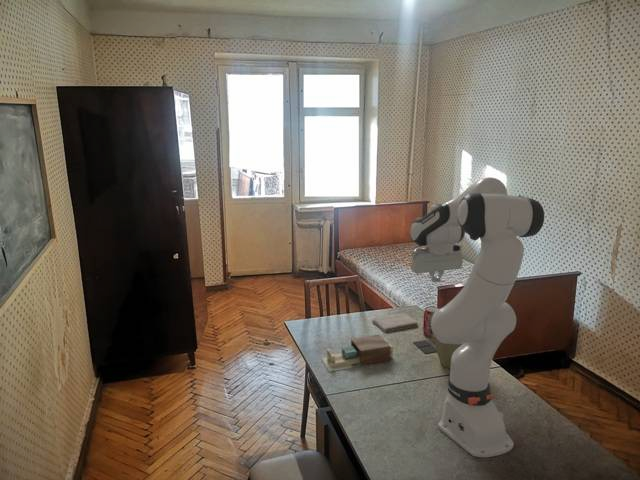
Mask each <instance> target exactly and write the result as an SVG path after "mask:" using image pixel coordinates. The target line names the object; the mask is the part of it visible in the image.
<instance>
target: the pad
mask: <svg viewBox="0 0 640 480" xmlns="http://www.w3.org/2000/svg"><path fill="white" fill-rule="evenodd" d="M321 361H322V362H323V364H324V365H325V367H326V368H327V370H328V371H329V372H330V373H332V372H337V371H342V370H347V369H349V370H350V369H352V368H353V366H352V364H349V365H343V366H338V367H331V365H330V363H329V362H328V360H327V356H326V357H322V358H321Z"/></svg>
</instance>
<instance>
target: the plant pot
mask: <svg viewBox="0 0 640 480" xmlns="http://www.w3.org/2000/svg"><path fill="white" fill-rule="evenodd" d="M432 338H433V341H434V347H435V348H436V350H437V352H436V354H437V357H438V359H439V362H440V365H442V367H444V368H446V369H447V368H448V369H451V357H452V354H453V353H454V351H455V350H456V349H457V348H458V347H460V346H461V345H462V344H445V343H441V342H440V341H438V340H437V339H436V337H435V336H434V334H433V337H432Z"/></svg>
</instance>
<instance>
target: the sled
mask: <svg viewBox="0 0 640 480" xmlns="http://www.w3.org/2000/svg"><path fill="white" fill-rule="evenodd" d="M384 340H385V341H386V342H387V343H388V344H389V345H390V358H393V353H394V351H393V349H394V346H393V345H392V344H391V343H390V342H389V341H388V340H387V339H384ZM326 357H327V360H328V362H329V363H330V365H331V367H338V366H343V365H349V364H350V365H353V364H360V351H356V350H355V349H354V347H353V346H351V345H350V346H344V347H341V353H338V354H334V352H333V351H332V350H331V348H327V349H326Z"/></svg>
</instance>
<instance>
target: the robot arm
mask: <svg viewBox="0 0 640 480" xmlns="http://www.w3.org/2000/svg"><path fill="white" fill-rule="evenodd" d="M544 222H545V210H544V207H543V205H542V204H541V203H540V202H539V201H538V200H536V199H533V198H532V197H531V198H530V197H527V196H522V195H520V194H519V195H510V194H508V190H507V187H506V185H505V184H504V182H502V181H501V180H500V179H497V178H496V177H491V176H490V177H483V178H481V179H479V180H477V181H476V182H474V183H473V184H471V185H469V187H467V188H466V189H465V190H464V191H462V192H461V193H460V194H459V195H457V196H456V197H453V198H452V199H450V200H448V201H447V202H444V203H439V204H436V203H435V204H431V205H429V208H428V211H427V214H425V215H424V216H422V217H421V216H418V217H417V218H415V219H414V220H413V221H412V223H411V225H410V227H409V228H410V229H409V233H410V238H411V240H412V242H414V243H415V245H417V246H418V248H416V249H414V250H413V252H412V255H411V256H412V257H411V265H410V270H411V272H413V273H415V274H417V275H418V274H424V273H429V276H430V278H431V282H432V283H439V282H441V278H442V277H443V275H444V274H445V271H451V270H459V269H461V268H462V267H463V261H464V259H463V257H464V256H463V252H462V250H463V246H462V245H461V244H459V243H461V241H462V240H464V237H465V235H466V234H467V235H469V238H470V240H472V241H475V242H476V241H478V240H479V239H480V250H479V253H478V254H477V256H476V259H475V261H474V263H473V265H472V269H471V272H470V274H469V276H468V277H467V278H468V279H467V280H466V283H465V284H464V285H463V287H462V289H461V290H460V291H459V292H458V293H457V294H456V295H455V296H454V297H453V298H452V300H450V301H449V302H447V304H445V305H444V306H443V307H441V308H439V310H437V311H436V312H435V313H434V314H433V316H432V320H431V329H432V332H433V334H434V336H435V337H436V339H437V340H438V341H440V342H441V343H445V344H462V345H461V346H460V347H458V348H457V349H456V350H455V351H454V353H453V354H452V357H451V368H449V369H450V371H449V377H448V380H447V391H448V392H447V394H446V397H445V400H444V402H443V406H442V407H443V408H442V413H441V417H440V421H438V424H437V427H438V429H439V430H441V432H443V433H444V434H445V435H446V436H448V437H449V438H450V439H451V440H453V441H454V442H455V443H456V444H457V445H459V446H460V447H461V448H463V449H464V451H466V452H467V453H469V454H470V455H471V456H473V457H477V458H492V457H496V456H500V455H504V454H506V453H508V452H509V451H511V450H513V449H514V446H515V443H514V441H513V440H512V438H511V437H510V436H509V434H508V433H507V432H506V424H505V421H504V414H503V412H501V411H499V410H498V408H497V407H496V404H495V402H494V401H493V400H492V399H493V398H494V395H495V394H494V393H492V390H491V386H490V382H489V380H490V372H491V365H492V362H493V359H494V356H495V354H496V352H497V350H498V348H499V347H500V346H501V344H502V343H503V341H504V339H506V338H507V336H509V335H510V334H511V333H512V332H513V331H514V330H515V328H516V326H517V316H516V313H515V311H514V309H513V307H512V306H511V305H510V304H509V303H508V302H506V301H507V300H508V297H509V295H510V294H511V291H512V289H513V287H514V285H515V282H516V280H517V277H518V276H519V273H520V271H521V266H522V263H523V259H524V253H525V248H524V244H523V243H522V241H521V240H520V239H519V238H529V237H534V236H536V235H537V234H538V233H539V232H540V231H541V229H542V227H543V226H544ZM518 237H519V238H518ZM419 247H420V248H419ZM436 272H438V273H437V274H436ZM435 275H436V276H435Z"/></svg>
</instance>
